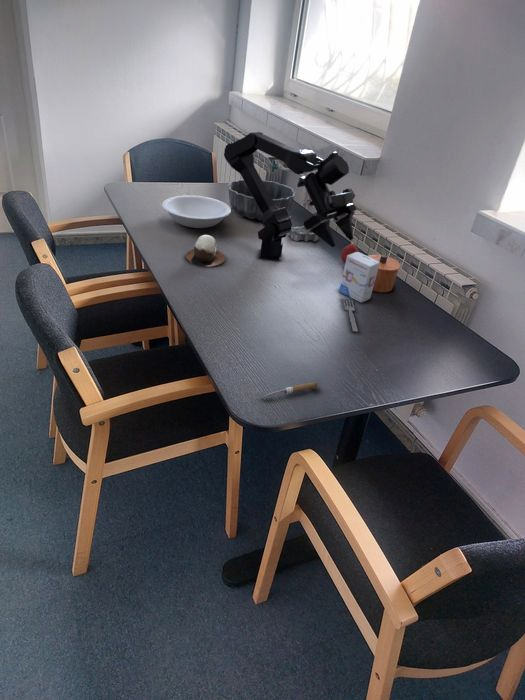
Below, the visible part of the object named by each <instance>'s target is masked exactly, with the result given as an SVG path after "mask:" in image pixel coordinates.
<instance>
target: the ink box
mask: <svg viewBox="0 0 525 700" xmlns="http://www.w3.org/2000/svg"><path fill="white" fill-rule="evenodd" d="M368 256H369V255H366V254H364V253H362V252H360V251H359V252H354V253H352V254H349V255H347V259H346V263H344V267H343V271H342V277H341V281H340V285H339V290H338V291H339V293H342V294H344V295H345V296H347V297H349V298H351V299H353V300H354V301H357V302H358V303H361V304H362V303H364V302H367V301H368V300H370V299H371V297H372V293H373V291H372V290H373V286H374V283H375V279H376V275H377V272H378V268H379V264H380V263H379V262H378V261H376V260H374V259H372V258H370V257H368Z"/></svg>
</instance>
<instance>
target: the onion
mask: <svg viewBox="0 0 525 700" xmlns="http://www.w3.org/2000/svg"><path fill="white" fill-rule="evenodd" d="M355 244H356V243H355V242H351V243H350V244H348V245H347V246H345V247H344V248H343V249H342V250H341V253H340V259H341V261H342V262H343V264H345V263H346V259H347V255H349V254H352V253H354V252H360V251H359V249H358V247H357V246H356V245H355Z"/></svg>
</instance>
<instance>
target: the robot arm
mask: <svg viewBox="0 0 525 700" xmlns="http://www.w3.org/2000/svg"><path fill="white" fill-rule="evenodd" d="M257 151H260V152H262V153H264V154H266V155H269V156H271V157H273V158H275V159H277V160H279V161H281V162H283V164H285V166H286V167H287V168H288V169H289V170H290V171H291V172H293V173H294V174H296V175H304V174H307V175H306V176H299V178H298V182H297V185H296V187H297V188H301V187H302V188H303V187H305V190H306V192H307V194H308V197H309V198H310V200H311V201H310V202H309V205H310V206H311V207H312V206H313V207H314V209H315V211H316V212H314V213H312V214H311V215H309V216H308V217H307V218H305V219H304V220H303V226H304V227H305V229H306V230H310V229H311V230H310V232H313V233H314V234H316V235H317V236H319V238H320V239H321V240H323V241H324V242H325V243H326V244H328V246H330V247H331V248H335V247H336V242H335V238H334V236H333V234H332V231H331V229H330V223H331V219H333V220H334V221H335V225H336V226H337V227H338V228H339V229H340V230H341V232H342V233H343V234H344V236H345V237H346V238H347V240H349V241H353V240H354V234H353V226H352V224H353V223H352V219H353V216H354V215H355V213H356V211H357V208H356V205H355V204H354V200H355V197H356V194H355V192H354V190H353V189H352V188H351V187H349V188H348V187H347V188H344V189H343V190H342V193H336V191H335V190H330V188H329V186H332V185H334V184H335V183H337V182H338V181H339V180H341V179H342V178H344V177H345V176H347V175H348V174H349V173H350V168H349V164H348V162H347V161H346V160H345V159H344V158H343V157H342V156H340V155H339V153H338V152H337V151H334V152H332V153H330V154H329V155H328V156H327V157H326V158H325V159H322V158H321V157H318V156H317V153H316V152H314V151H313V150H311V149H310V150H308V149H304V148H297V147H292V146H290V145H288V144H285V143H283V142H281V141H279V140H277V139H274V138H272V137H270V136H268V135H266V134H264V133H263V132H262V131H252V132H249V133H248V134H247V135H245V136H244V137H242V138H240V139H238V140H236V141H234V142H230V143H227V144H226V145H225V148H224V153H223V157H224V160H225V161H226V162H227V163H228V165H229V166H230V167H231V168H232V169H233V170H234V171H236V172H237V173H239V175H240V176H241V178H242V180H244V181H245V183H246V185H247V187H248V189H249V190H250V192H251V194H252V196H253V198H254V199H255V201H256V203H257V205H258V207H259V208H260V210H261V212H262V214H263V219H262V226H263V227H262V228H261V229H260V230H258V231H257V238H258V239H259V240H261V245H260V250H259V259H263V260H269V261H270V260H271V261H280V258H281V257H282V254H283V247H284V242H283V239H285V238H286V237H287V236H288V234H289V232H290V231H291V228H293V223H292V216H290V215H289V212H288V213H287V210H286V209H285V208H281V209H280V208H278V207H277V206H276V205H275V203H274V201H273V199H272V197H271V196H270V194H269V192H268V190H267V188H266V187H265V185H264V183H263V181H262V180H263V179H262V178H261V176H260V174H259V172H258V170H257V169H256V167H255V156H254V153H256V152H257ZM314 171H315V172H314ZM328 185H329V186H328ZM312 228H313V229H312Z"/></svg>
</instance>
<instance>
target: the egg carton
mask: <svg viewBox="0 0 525 700" xmlns="http://www.w3.org/2000/svg"><path fill="white" fill-rule="evenodd" d="M312 229H313V228H312ZM310 230H311V229H310ZM310 230H306V229H305V227H304V225H302V226H294V227H291V231H290V232H289V233H288V234H287V236H289V237H290V238H291V240H293V241H295V242H298V241H304V242H308V241H312V242H317V241H318V240H319V238H320V237H319V236H317V235H316V234H314V233H313V232H310Z"/></svg>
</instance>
